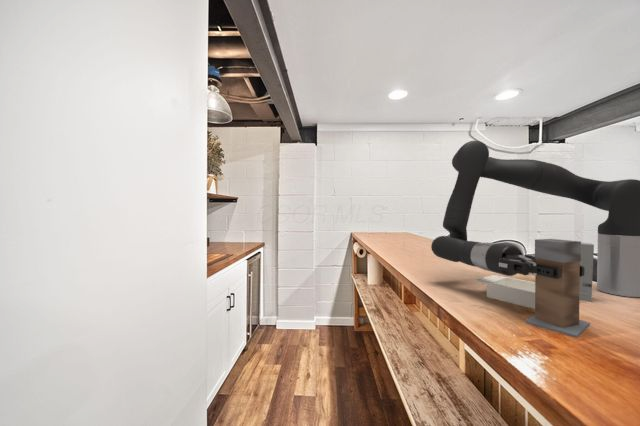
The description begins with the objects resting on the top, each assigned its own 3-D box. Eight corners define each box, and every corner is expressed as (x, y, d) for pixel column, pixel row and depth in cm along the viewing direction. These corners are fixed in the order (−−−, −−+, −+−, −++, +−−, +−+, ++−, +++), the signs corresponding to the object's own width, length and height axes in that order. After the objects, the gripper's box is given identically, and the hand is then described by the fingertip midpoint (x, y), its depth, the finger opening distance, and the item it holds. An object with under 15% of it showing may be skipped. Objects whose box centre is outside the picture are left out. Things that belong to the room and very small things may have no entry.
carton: (493, 289, 81) (493, 274, 81) (569, 306, 67) (569, 288, 66) (475, 296, 74) (475, 280, 74) (555, 316, 60) (555, 296, 60)
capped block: (551, 315, 58) (552, 238, 58) (580, 324, 53) (581, 241, 53) (534, 317, 57) (534, 239, 57) (562, 328, 52) (562, 242, 52)
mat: (541, 314, 61) (541, 310, 61) (589, 327, 55) (589, 322, 55) (524, 325, 55) (524, 320, 55) (576, 340, 49) (576, 335, 49)
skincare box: (550, 297, 73) (551, 241, 73) (550, 291, 79) (550, 238, 79) (594, 304, 68) (594, 243, 68) (590, 297, 73) (591, 241, 73)
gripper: (473, 244, 67) (545, 255, 51) (516, 242, 71) (596, 252, 54) (473, 273, 67) (545, 294, 51) (516, 270, 71) (596, 288, 54)
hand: (571, 272), depth 53 cm, fingers open, 6 cm apart
